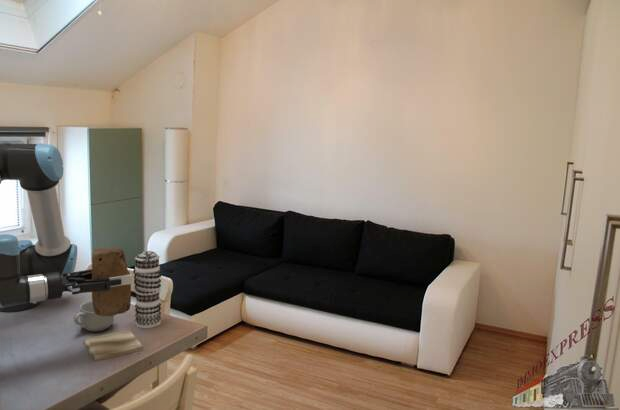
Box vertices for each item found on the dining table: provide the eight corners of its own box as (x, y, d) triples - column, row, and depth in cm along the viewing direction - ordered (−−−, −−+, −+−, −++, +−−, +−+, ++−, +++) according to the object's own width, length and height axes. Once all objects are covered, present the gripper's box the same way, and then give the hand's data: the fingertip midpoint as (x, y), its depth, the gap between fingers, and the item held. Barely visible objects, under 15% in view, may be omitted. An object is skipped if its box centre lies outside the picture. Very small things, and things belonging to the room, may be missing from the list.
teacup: (104, 318, 182) (103, 297, 180) (121, 327, 175) (120, 305, 174) (64, 330, 171) (63, 307, 170) (81, 340, 164) (80, 316, 163)
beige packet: (83, 342, 163) (83, 338, 163) (129, 333, 171) (129, 329, 171) (95, 360, 152) (95, 356, 152) (143, 349, 160) (143, 345, 160)
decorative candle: (146, 330, 173) (145, 258, 169) (128, 323, 178) (126, 253, 174) (167, 322, 181) (167, 252, 177) (149, 315, 186) (148, 248, 181)
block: (93, 319, 153) (91, 253, 150) (91, 310, 160) (89, 247, 156) (132, 314, 158) (131, 250, 155) (128, 305, 165) (127, 244, 161)
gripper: (39, 289, 156) (117, 277, 169) (52, 311, 139) (138, 297, 152) (38, 264, 154) (117, 255, 168) (51, 284, 138) (137, 272, 151)
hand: (127, 275), depth 160 cm, fingers closed on block, 8 cm apart
